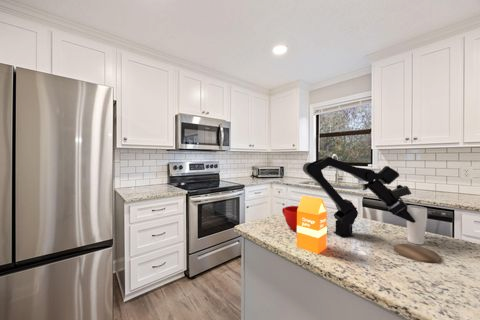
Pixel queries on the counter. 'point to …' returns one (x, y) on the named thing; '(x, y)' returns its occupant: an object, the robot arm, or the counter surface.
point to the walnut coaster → (417, 253)
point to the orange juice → (311, 224)
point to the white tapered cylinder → (416, 224)
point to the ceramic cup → (291, 216)
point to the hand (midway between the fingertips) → (412, 219)
